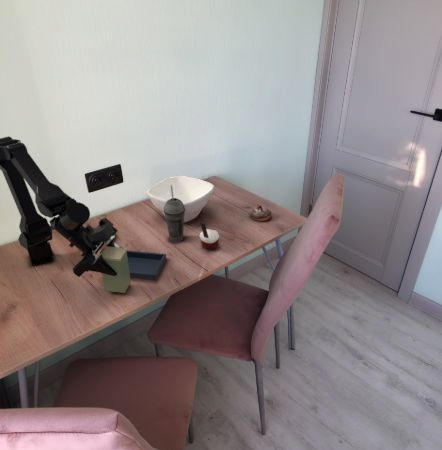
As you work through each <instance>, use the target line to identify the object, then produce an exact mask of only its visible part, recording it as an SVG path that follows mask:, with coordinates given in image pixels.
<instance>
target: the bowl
mask: <svg viewBox="0 0 442 450" xmlns="http://www.w3.org/2000/svg"><path fill="white" fill-rule="evenodd" d="M171 185H172V189H173V198H177V199H179V200H181V201H182V203H183V204H184V207H185V213H184V223H187V222H190V221H192V220H194V219H196V218H197V217H198V216H199V214H201V211H202V209H203V208H204V207H205V206H207V204H208V203H209V200H210V198H211V196H212V194H213V192H214V191H215V185H214V184H213V183H211V182H208V181H206V180H202V179H199V178H196V177H191V176H185V175H174V176H173V175H172V176H171V177H170V176H169V177H167V178H165V179H163V180H161V181H160V180H159V182H156V183H155V184H154V185H152V186H151V187H149V189H148V190H147V191H146V196H147V197H148V199H149V200H150V201H151V202H152V204H153V206H154V207H155V208H156V209H158V210H160V212H161V213H162V214H163V216H164V217H165V214H164V206H165V203H166V202H167V201H168V200H169V199H171V198H172V194H171Z"/></svg>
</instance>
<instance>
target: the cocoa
mask: <svg viewBox="0 0 442 450" xmlns="http://www.w3.org/2000/svg"><path fill="white" fill-rule="evenodd" d="M200 228H201V231H200V233H199V239H200V243H201V246H202V247H203V248H204V249H205V250H214V249H216V248H217V247H218V245H219V241H220V235H219V233H218V231H217V230H214V229H211V228H207V227H206V224H205V223H202V222H200Z"/></svg>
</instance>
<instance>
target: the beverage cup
mask: <svg viewBox="0 0 442 450" xmlns="http://www.w3.org/2000/svg"><path fill="white" fill-rule="evenodd" d="M171 194H172V198H171V199H169V200H168V201H167V202H166V203H165V206H164V214H165V216H164V217H165V220H166V226H167V231H168V232H167V233H168V237H169V240H170V241H171V242H175V243H176V242H181V241H182V240H183V239H184V228H185V227H184V226H185V225H184V224H185V222H184V213H185V207H184V204H183V203H182V201H181V200H179V199H177V198H173V189H172V185H171ZM164 214H163V215H164Z"/></svg>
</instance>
